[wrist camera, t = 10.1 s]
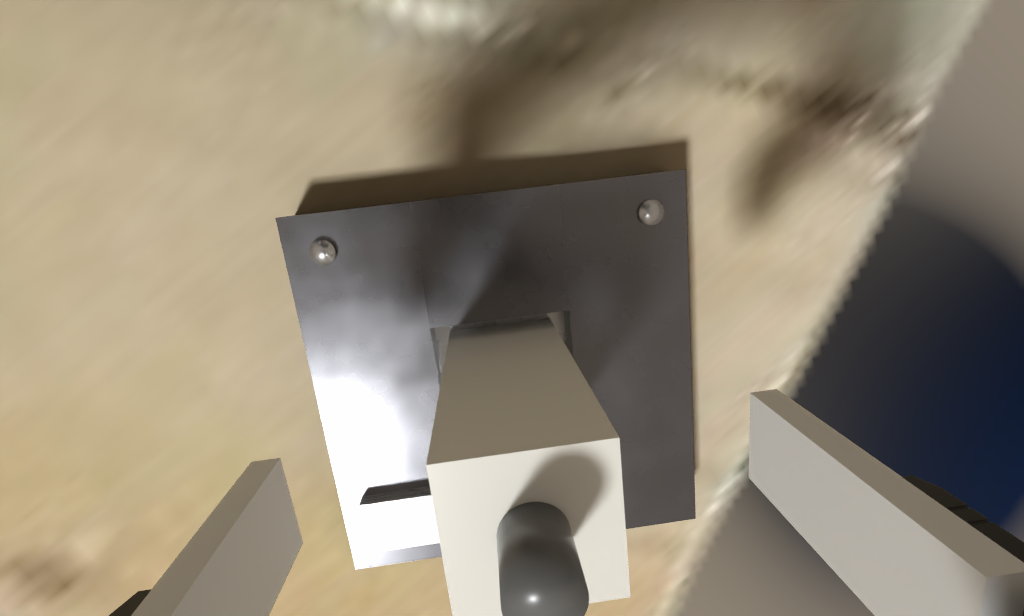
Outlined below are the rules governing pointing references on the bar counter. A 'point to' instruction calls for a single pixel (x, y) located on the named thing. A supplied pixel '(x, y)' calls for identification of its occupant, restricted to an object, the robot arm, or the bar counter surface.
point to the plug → (525, 478)
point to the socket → (486, 302)
